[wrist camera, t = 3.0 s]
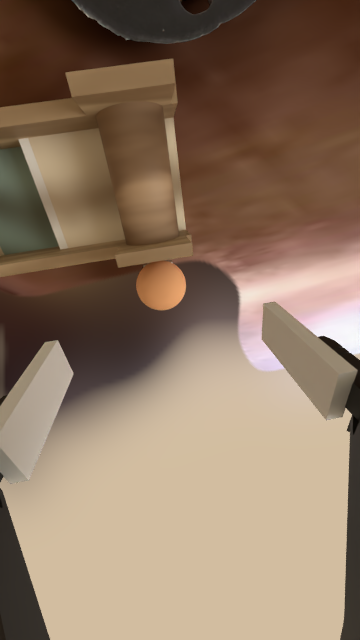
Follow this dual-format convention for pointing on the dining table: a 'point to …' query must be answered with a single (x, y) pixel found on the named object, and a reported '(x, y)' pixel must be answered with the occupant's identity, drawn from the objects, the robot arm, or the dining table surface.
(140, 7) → the board
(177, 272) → the ball
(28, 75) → the dining table surface
